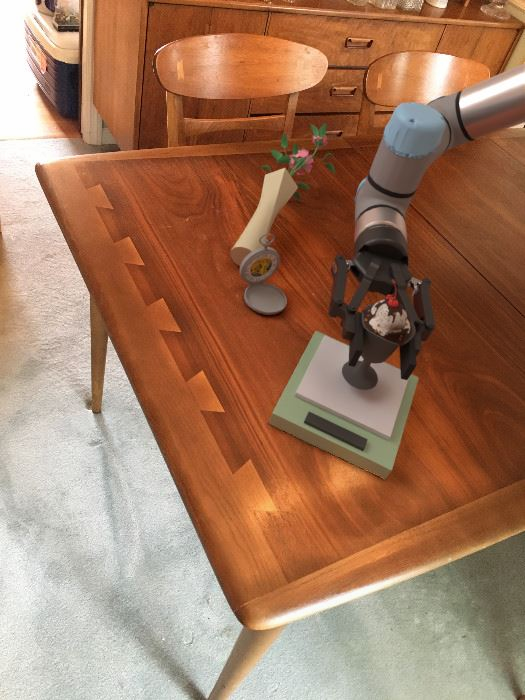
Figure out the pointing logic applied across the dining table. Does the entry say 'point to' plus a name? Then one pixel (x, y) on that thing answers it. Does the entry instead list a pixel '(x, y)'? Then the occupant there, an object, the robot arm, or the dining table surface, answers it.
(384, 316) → the sundae
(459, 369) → the dining table surface
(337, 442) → the scale
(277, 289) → the pocket watch
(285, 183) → the flower vase
